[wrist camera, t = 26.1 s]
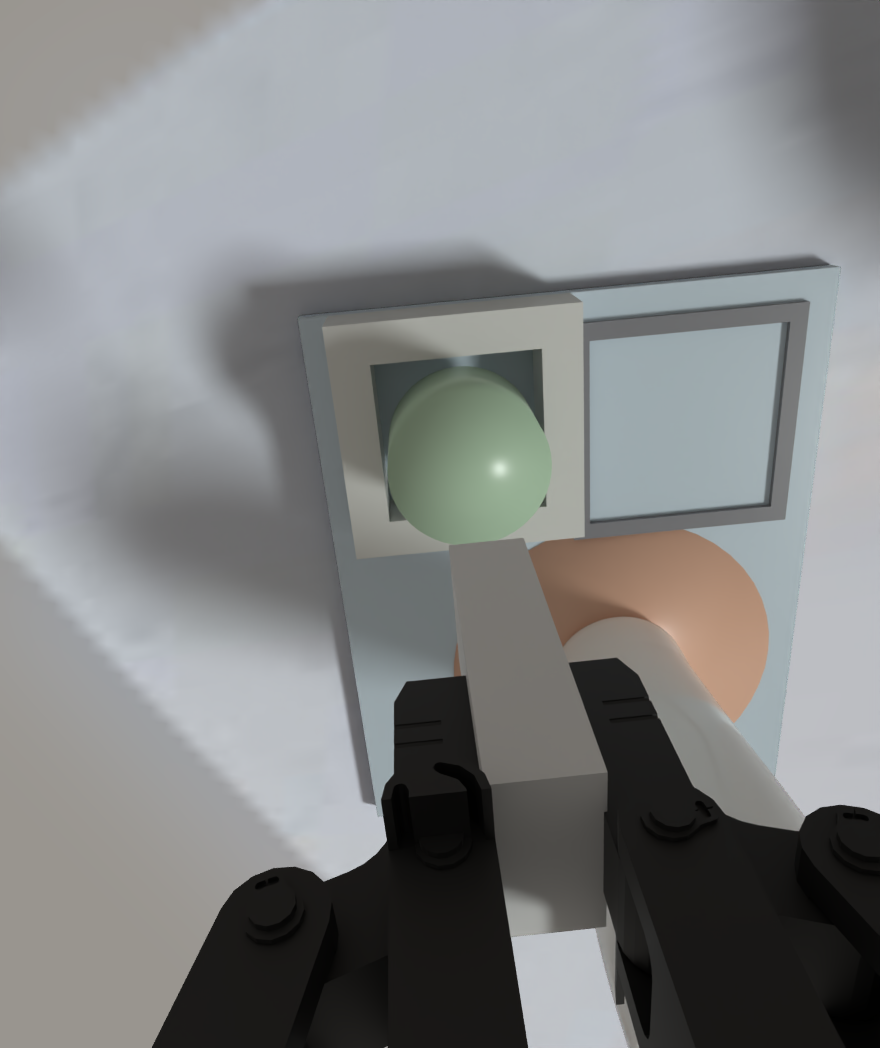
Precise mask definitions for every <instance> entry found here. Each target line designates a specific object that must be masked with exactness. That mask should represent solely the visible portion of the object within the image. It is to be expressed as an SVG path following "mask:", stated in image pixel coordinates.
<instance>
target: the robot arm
mask: <svg viewBox="0 0 880 1048" xmlns="http://www.w3.org/2000/svg"><path fill="white" fill-rule="evenodd" d="M449 554H450V565H451V576H452V587H453V599H454V610H455V621H456V632H457V643H458V654H459V663H460V670H461V676H455V677H445V678H436V679H426V680H417V681H407V682H406V683H405V685H404V686H403V688H402V690H401V691H400V693H399V695H398V696H397V698H396V700H395V701H394V774H393V776H392V777H391V778H390V779H389V780H388V782H387V783H386V784H385V787H384V790H383V794H382V798H381V805H382V811H383V818H384V824H385V831H386V837H387V841H386V843H385V844H384V845H383V847H382V848H381V849H380V850H379V852H378V853H377V854H376V855H375V856H373V857H372V858H371V859H370V860H368V861H367V862H366V863H365V864H363V865H361V866H359V867H357V868H355V869H353V870H351V871H349V872H347V873H345V874H342V875H340V876H337V877H335V878H332V879H330V880H327V881H325V882H323V881H322V880H321V879H320V878H319V877H318V876H317V875H316V874H314V873H313V872H311V871H307V870H304V869H301V868H297V867H285V868H273V869H270V870H268V871H265V872H263V873H260V874H258V875H255V876H253V877H251V878H250V879H249V880H248V881H246V882H245V883H243V884H242V885H241V886H239V887H238V888H237V889H235V890H234V891H233V893H232V894H231V896H230V897H229V898H228V900H227V901H226V902H225V904H224V905H223V907H222V908H221V910H220V912H219V914H218V916H217V918H216V920H215V922H214V924H213V926H212V928H211V930H210V932H209V934H208V936H207V938H206V940H205V942H204V944H203V946H202V948H201V950H200V952H199V954H198V956H197V958H196V960H195V962H194V964H193V966H192V968H191V970H190V972H189V974H188V976H187V978H186V980H185V982H184V984H183V986H182V988H181V990H180V992H179V994H178V996H177V998H176V1000H175V1002H174V1004H173V1006H172V1008H171V1010H170V1012H169V1014H168V1016H167V1018H166V1020H165V1022H164V1024H163V1026H162V1028H161V1030H160V1032H159V1034H158V1036H157V1038H156V1040H155V1042H154V1044H153V1046H152V1048H384V1047H386V1046H388V1048H528V1044H527V1038H526V1031H525V1025H524V1019H523V1012H522V1006H521V999H520V993H519V987H518V980H517V974H516V967H515V961H514V955H513V948H512V942H511V937H517V936H526V935H535V934H545V933H554V932H563V931H572V930H581V929H590V928H600V927H606V912H607V906H608V910H609V913H610V916H611V920H612V923H613V927H614V930H615V933H616V947H615V998H616V1005H621V1004H624V1000H625V999H626V1002H627V1006H628V1009H629V1013H630V1016H631V1020H632V1024H633V1027H634V1031H635V1034H636V1038H637V1042H638V1045H639V1048H880V814H878V813H875V812H873V811H870V810H868V809H865V808H860V807H853V806H846V805H836V806H829V807H822V808H819V809H817V810H816V811H814V812H812V813H811V814H809V815H807V816H806V817H805V819H804V822H803V824H802V826H801V828H800V830H799V831H794V830H787V829H781V828H774V827H767V826H761V825H756V824H752V823H747V822H743V821H740V820H737V819H735V818H733V817H730V816H728V815H725V813H724V812H723V811H722V810H721V808H720V807H719V806H718V805H717V803H716V802H715V801H714V800H713V799H712V798H710V797H709V796H707V795H706V794H704V793H703V792H701V791H700V790H698V789H697V788H694V786H693V785H692V783H691V781H690V779H689V777H688V775H687V773H686V771H685V769H684V767H683V765H682V763H681V761H680V759H679V757H678V755H677V753H676V751H675V749H674V747H673V744H672V742H671V740H670V738H669V736H668V734H667V732H666V730H665V728H664V726H663V724H662V722H661V720H660V718H658V715H657V712H656V710H655V708H654V706H653V704H652V702H651V700H649V696H648V694H647V691H646V689H645V687H644V685H643V683H642V681H641V679H640V677H639V675H638V674H637V673H635V672H634V671H633V670H632V669H630V668H629V667H628V666H627V665H625V664H624V663H623V662H622V661H621V660H619V659H618V658H608V659H598V660H589V661H579V662H570V663H568V660H567V658H566V655H565V652H564V649H563V646H562V644H561V641H560V638H559V635H558V632H557V630H556V627H555V624H554V621H553V618H552V616H551V613H550V610H549V607H548V605H547V602H546V599H545V596H544V593H543V591H542V588H541V585H540V582H539V579H538V577H537V574H536V571H535V568H534V566H533V563H532V560H531V557H530V554H529V552H528V549H527V546H526V543H525V540H524V538H516V539H506V540H496V541H486V542H476V543H467V544H457V545H449Z"/></svg>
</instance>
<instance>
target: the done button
mask: <svg viewBox="0 0 880 1048" xmlns="http://www.w3.org/2000/svg"><path fill="white" fill-rule="evenodd" d="M387 473H388V483H389V488H390V492H391V495H392V497H393V500H394V502H395V504H396V506H397V508H398V509H399V511H400V512H401V514H402V515H403V516H404V517H405V519H406V520H407V521H408V522H409V523H410V524H411V525H412V526H414V527H415V528H416V529H417V530H419V531H420V532H422V533H423V534H425V535H426V536H429V537H431V538H433V539H435V540H438V541H441V542H444V543H448V544H453V545H457V544H467V543H476V542H486V541H496V540H499V539H501V538H504V537H506V536H508V535H509V534H511V533H513V532H515V531H516V530H517V529H519V528H520V527H522V526H523V525H524V524H525V523H526V522H527V521H528V520H529V519H530V518H531V517H532V516H533V515H534V514H535V512H536V511H537V510H538V508H539V507H540V505H541V503H542V502H543V500H544V498H545V495H546V493H547V490H548V487H549V484H550V479H551V473H552V460H551V452H550V448H549V444H548V441H547V439H546V436H545V434H544V432H543V430H542V428H541V427H540V425H539V423H538V421H537V419H536V418H535V416H534V414H533V412H532V410H531V409H530V407H529V405H528V403H527V402H526V400H525V398H524V397H523V395H522V394H521V393H520V391H519V390H518V389H517V388H516V387H515V386H514V385H513V384H512V383H510V382H509V381H508V380H506V379H505V378H504V377H502V376H500V375H498V374H496V373H494V372H492V371H489V370H486V369H482V368H478V367H470V366H457V367H451V368H446V369H442V370H439V371H436V372H434V373H432V374H429V375H427V376H426V377H424V378H423V379H421V380H419V381H418V382H417V383H416V384H414V385H413V386H412V387H411V388H410V389H409V390H408V391H407V392H406V393H405V395H404V396H403V397H402V399H401V400H400V401H399V403H398V405H397V407H396V409H395V411H394V414H393V417H392V419H391V424H390V429H389V443H388V466H387Z"/></svg>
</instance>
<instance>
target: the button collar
mask: <svg viewBox="0 0 880 1048" xmlns="http://www.w3.org/2000/svg"><path fill="white" fill-rule="evenodd" d="M322 330H323V337H324V344H325V350H326V357H327V364H328V371H329V377H330V384H331V391H332V397H333V404H334V411H335V418H336V424H337V431H338V438H339V445H340V451H341V458H342V465H343V471H344V478H345V485H346V492H347V498H348V505H349V512H350V519H351V525H352V532H353V539H354V545H355V552H356V559H366V558H376V557H386V556H396V555H406V554H417V553H427V552H437V551H447V550H449V545H453V544H448V543H444V542H441V541H438V540H435V539H433V538H431V537H429V536H426V535H425V534H423V533H422V532H420V531H419V530H417V529H416V528H415V527H414V526H412V525H411V524H410V523H409V522H408V521H407V520H406V519H405V517H404V516H403V515H402V514H401V512H400V511H399V509H398V508H397V506H396V504H395V502H394V500H393V499H390V494H389V486H388V477H387V469H386V461H385V453H384V445H383V437H382V429H381V421H380V412H379V404H378V396H377V388H376V380H375V372H374V365H378V364H388V363H399V362H409V361H419V360H430V359H440V358H451V357H461V356H471V355H482V354H492V353H502V352H513V351H523V350H532V351H533V380H534V409H535V418H536V419H537V421H538V423H539V425H540V427H541V428H542V430H543V432H544V434H545V436H546V439H547V441H548V444H549V448H550V452H551V460H552V473H551V479H550V484H549V487H548V490H547V493H546V495H545V498H544V500H543V502H542V503H541V505H540V507H539V508H538V510H537V511H536V512H535V514H534V515H533V516H532V517H531V518H530V519H529V520H528V521H527V522H526V523H525V524H524V525H523V526H522V527H520V528H519V529H517V530H516V531H515V532H513V533H511V534H509V535H508V536H506V537H504V538H501V539H499V540H506V539H516V538H524V540H525V543H529V542H539V541H549V540H559V539H569V538H580V537H585V512H584V360H583V302H582V301H581V300H580V299H578V298H577V297H575V296H574V295H572V294H571V293H562V294H552V295H542V296H531V297H521V298H510V299H500V300H489V301H479V302H469V303H458V304H448V305H437V306H427V307H416V308H406V309H396V310H385V311H375V312H364V313H354V314H343V315H333V316H327V318H326V320H325V322H324V324H323V326H322Z"/></svg>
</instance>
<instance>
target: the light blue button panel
mask: <svg viewBox="0 0 880 1048" xmlns="http://www.w3.org/2000/svg"><path fill="white" fill-rule="evenodd" d="M840 271H841V267H840V266H835V265H825V266H814V267H804V268H793V269H783V270H773V271H762V272H752V273H741V274H731V275H720V276H710V277H700V278H689V279H679V280H668V281H658V282H647V283H637V284H627V285H616V286H606V287H595V288H585V289H574V290H564V291H554V292H543V293H533V294H522V295H512V296H501V297H491V298H481V299H470V300H460V301H449V302H439V303H428V304H418V305H408V306H397V307H387V308H376V309H366V310H355V311H345V312H335V313H324V314H314V315H303V316H299V317H298V319H297V320H298V326H299V332H300V338H301V344H302V351H303V357H304V363H305V369H306V375H307V382H308V388H309V394H310V400H311V406H312V413H313V419H314V425H315V431H316V437H317V444H318V450H319V456H320V462H321V468H322V475H323V481H324V487H325V493H326V499H327V505H328V512H329V518H330V524H331V530H332V536H333V543H334V549H335V555H336V561H337V567H338V574H339V580H340V586H341V592H342V598H343V605H344V611H345V617H346V623H347V629H348V636H349V642H350V648H351V654H352V660H353V667H354V673H355V679H356V685H357V691H358V698H359V704H360V710H361V716H362V722H363V729H364V735H365V741H366V747H367V753H368V760H369V766H370V772H371V778H372V784H373V791H374V797H375V803H376V809H377V815H378V817H379V816H383V811H382V805H381V798H382V794H383V790H384V787H385V784H386V783H387V782H388V780H389V779H390V778H391V777H392V776H393V774H394V701H395V700H396V698H397V696H398V695H399V693H400V691H401V690H402V688H403V686H404V685H405V683H406V682H407V681H417V680H426V679H436V678H445V677H455V676H461V670H460V663H459V654H458V643H457V632H456V621H455V610H454V599H453V587H452V576H451V565H450V554H449V550H447V551H437V552H427V553H417V554H406V555H396V556H386V557H376V558H366V559H356V552H355V545H354V539H353V532H352V525H351V519H350V512H349V505H348V498H347V492H346V485H345V478H344V471H343V465H342V458H341V451H340V445H339V438H338V431H337V424H336V418H335V411H334V404H333V397H332V391H331V384H330V377H329V371H328V364H327V357H326V350H325V344H324V337H323V330H322V326H323V324H324V322H325V320H326V318H327V316H333V315H343V314H354V313H364V312H375V311H385V310H396V309H406V308H416V307H427V306H437V305H448V304H458V303H469V302H479V301H489V300H500V299H510V298H521V297H531V296H542V295H552V294H562V293H571V294H572V295H574V296H575V297H577V298H578V299H580V300H581V301H582V302H583V360H584V512H585V537H580V538H569V539H559V540H549V541H539V542H529V543H526V546H527V549H528V552H529V554H530V557H531V560H532V563H533V566H534V568H535V571H536V574H537V577H538V579H539V582H540V585H541V588H542V591H543V593H544V596H545V599H546V602H547V605H548V607H549V610H550V613H551V616H552V618H553V621H554V624H555V627H556V630H557V632H558V635H559V638H560V641H561V644H562V646H564V644H565V643H566V642H567V641H568V640H569V639H570V638H571V637H572V636H573V635H574V634H575V633H576V632H578V631H579V630H581V629H582V628H584V627H585V626H587V625H589V624H591V623H594V622H596V621H599V620H602V619H606V618H611V617H622V616H625V617H636V618H641V619H644V620H647V621H650V622H652V623H654V624H656V625H658V626H660V627H661V628H663V629H664V630H665V631H666V632H668V633H669V634H670V635H671V636H672V637H673V639H674V640H675V641H676V642H677V644H678V645H679V647H680V649H681V650H682V652H683V654H684V655H685V657H686V659H687V660H688V662H689V664H690V666H691V667H692V668H693V670H694V671H695V672H696V674H697V675H698V677H699V678H700V679H701V681H702V682H703V683H704V685H705V686H706V687H707V689H708V690H709V691H710V693H711V694H712V695H713V697H714V698H715V699H716V701H717V702H718V703H719V705H720V706H721V707H722V709H723V710H724V711H725V713H726V714H727V715H728V716H729V718H730V719H731V720H732V722H733V723H734V724H735V726H736V727H737V728H738V730H739V731H740V732H741V734H742V735H743V736H744V737H745V739H746V740H747V741H748V743H749V744H750V745H751V747H752V748H753V749H754V751H755V752H756V753H757V754H758V756H759V757H760V758H761V760H762V761H763V762H764V764H765V765H766V766H767V767H768V769H769V770H770V771H771V773H772V774H773V775H774V777H775V773H776V766H777V758H778V750H779V742H780V735H781V727H782V719H783V711H784V704H785V696H786V688H787V680H788V673H789V665H790V657H791V650H792V642H793V634H794V626H795V619H796V611H797V603H798V595H799V588H800V580H801V572H802V565H803V557H804V549H805V541H806V534H807V526H808V518H809V510H810V503H811V495H812V487H813V480H814V472H815V464H816V456H817V449H818V441H819V433H820V425H821V418H822V410H823V402H824V394H825V387H826V379H827V371H828V364H829V356H830V348H831V340H832V333H833V325H834V317H835V309H836V302H837V294H838V286H839V279H840ZM457 366H470V367H478V368H482V369H486V370H489V371H492V372H494V373H496V374H498V375H500V376H502V377H504V378H505V379H506V380H508V381H509V382H510V383H512V384H513V385H514V386H515V387H516V388H517V389H518V390H519V391H520V393H521V394H522V395H523V397H524V398H525V400H526V402H527V403H528V405H529V407H530V409H531V410H532V412H533V414H534V416H535V409H534V380H533V351H532V350H523V351H513V352H502V353H492V354H482V355H471V356H461V357H451V358H440V359H430V360H419V361H409V362H399V363H388V364H378V365H374V372H375V380H376V388H377V396H378V404H379V412H380V421H381V429H382V437H383V445H384V453H385V461H386V469H387V466H388V443H389V429H390V424H391V419H392V417H393V414H394V411H395V409H396V407H397V405H398V403H399V401H400V400H401V399H402V397H403V396H404V395H405V393H406V392H407V391H408V390H409V389H410V388H411V387H412V386H413V385H414V384H416V383H417V382H418V381H419V380H421V379H423V378H424V377H426V376H427V375H429V374H432V373H434V372H436V371H439V370H442V369H446V368H451V367H457ZM387 477H388V473H387ZM388 486H389V483H388ZM389 494H390V499H393V497H392V495H391V492H390V488H389Z"/></svg>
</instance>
